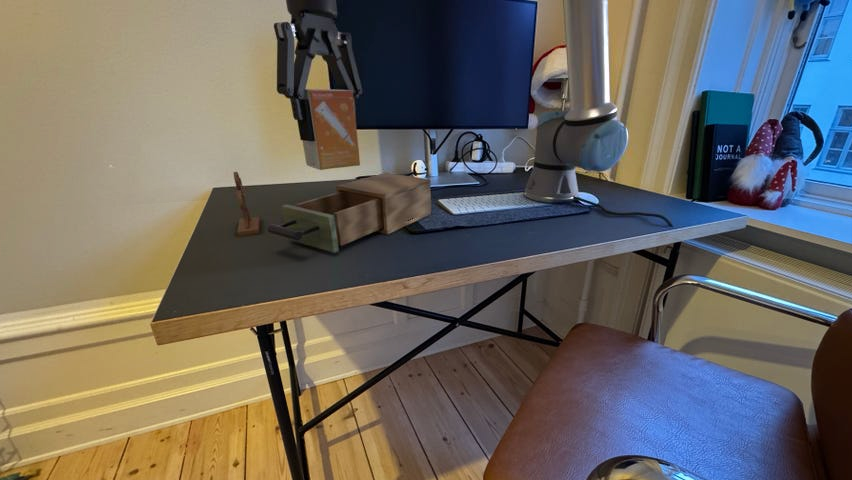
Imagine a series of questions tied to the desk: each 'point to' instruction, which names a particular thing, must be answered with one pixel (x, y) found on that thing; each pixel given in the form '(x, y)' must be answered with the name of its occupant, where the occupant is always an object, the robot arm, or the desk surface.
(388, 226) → the cabinet
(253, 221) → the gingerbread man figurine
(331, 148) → the small box
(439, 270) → the desk surface
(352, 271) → the desk surface
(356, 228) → the drawer
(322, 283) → the desk surface
